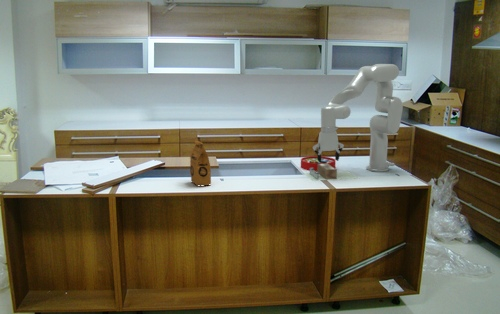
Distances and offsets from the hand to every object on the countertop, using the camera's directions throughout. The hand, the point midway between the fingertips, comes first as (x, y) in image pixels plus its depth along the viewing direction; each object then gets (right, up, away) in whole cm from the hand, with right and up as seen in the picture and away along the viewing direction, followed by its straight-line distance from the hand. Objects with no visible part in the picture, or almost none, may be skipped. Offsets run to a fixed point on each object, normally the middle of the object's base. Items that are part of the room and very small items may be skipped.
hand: (328, 160), depth 248 cm
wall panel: (+2, -9, +2) cm, 10 cm away
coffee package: (-67, -12, -9) cm, 69 cm away
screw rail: (-8, -8, 0) cm, 11 cm away
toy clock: (-2, -5, +22) cm, 22 cm away
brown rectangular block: (-1, -8, +1) cm, 8 cm away
